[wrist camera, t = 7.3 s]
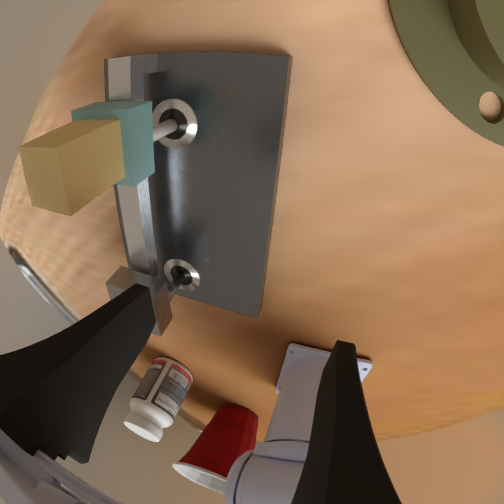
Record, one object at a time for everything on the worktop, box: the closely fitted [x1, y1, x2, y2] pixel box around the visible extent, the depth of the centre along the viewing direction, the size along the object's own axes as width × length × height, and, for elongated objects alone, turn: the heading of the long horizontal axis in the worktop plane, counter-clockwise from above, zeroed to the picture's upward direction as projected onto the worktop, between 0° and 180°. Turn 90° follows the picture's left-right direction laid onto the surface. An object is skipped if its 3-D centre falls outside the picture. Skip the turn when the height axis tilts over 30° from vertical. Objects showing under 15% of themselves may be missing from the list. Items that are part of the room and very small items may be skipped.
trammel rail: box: [106, 53, 185, 337], centre depth 18 cm, size 19×4×5 cm, turn 176°
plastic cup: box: [172, 404, 258, 494], centre depth 35 cm, size 11×11×12 cm
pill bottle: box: [124, 357, 193, 442], centre depth 33 cm, size 6×6×10 cm
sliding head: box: [19, 101, 177, 216], centre depth 14 cm, size 4×4×9 cm
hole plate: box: [104, 52, 292, 318], centre depth 20 cm, size 19×12×1 cm, turn 176°
